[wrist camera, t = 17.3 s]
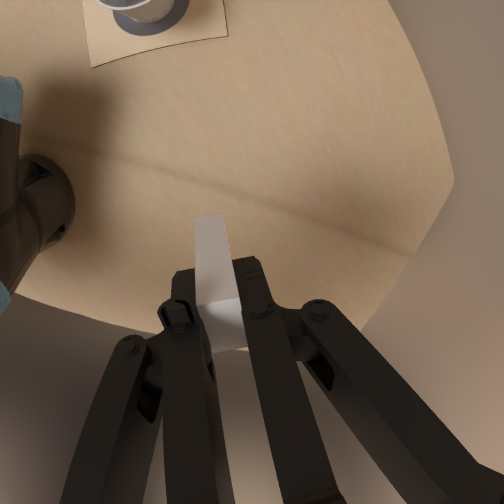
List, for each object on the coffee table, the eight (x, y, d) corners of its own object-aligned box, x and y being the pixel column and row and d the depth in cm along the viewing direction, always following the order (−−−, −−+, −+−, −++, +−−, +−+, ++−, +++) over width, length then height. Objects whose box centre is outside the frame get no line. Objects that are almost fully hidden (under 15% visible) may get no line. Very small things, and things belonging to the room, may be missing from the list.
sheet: (92, 67, 29) (90, 67, 29) (82, -17, 21) (81, -18, 21) (227, 36, 31) (227, 35, 30) (215, -49, 23) (215, -50, 22)
